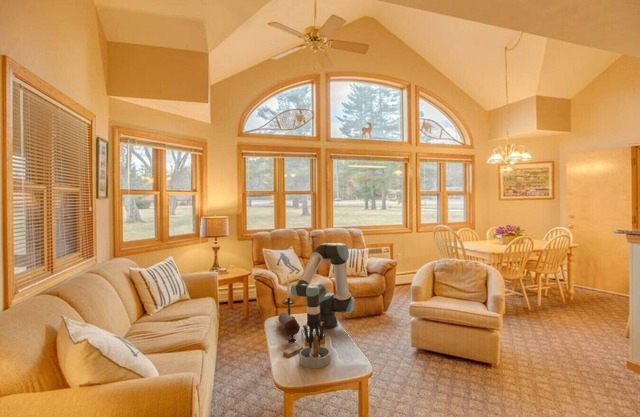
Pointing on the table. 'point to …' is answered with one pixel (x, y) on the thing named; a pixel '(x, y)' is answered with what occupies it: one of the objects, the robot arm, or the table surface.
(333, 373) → the table surface
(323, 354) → the grey pet bowl
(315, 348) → the wick slat
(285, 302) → the candlestick
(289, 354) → the slat
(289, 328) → the ice cream bowl
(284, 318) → the bluetooth speaker
